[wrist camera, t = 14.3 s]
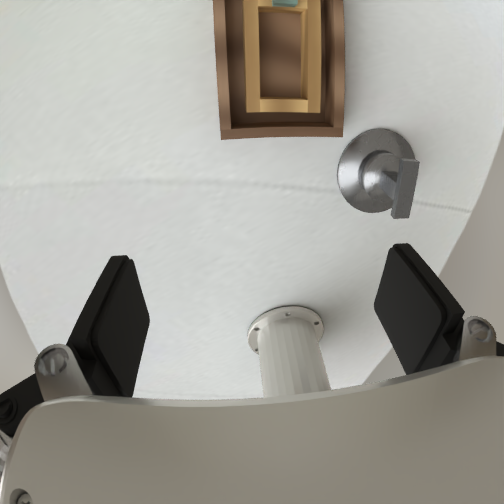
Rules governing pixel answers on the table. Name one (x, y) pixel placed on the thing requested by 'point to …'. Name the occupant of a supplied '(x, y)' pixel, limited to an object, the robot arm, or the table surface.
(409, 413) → the robot arm
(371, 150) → the door handle
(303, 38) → the light wooden frame
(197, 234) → the table surface
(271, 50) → the tray
